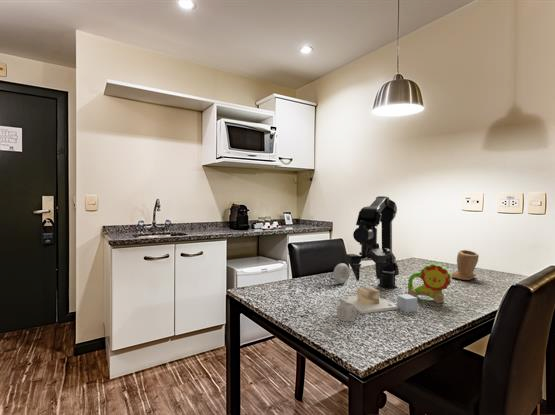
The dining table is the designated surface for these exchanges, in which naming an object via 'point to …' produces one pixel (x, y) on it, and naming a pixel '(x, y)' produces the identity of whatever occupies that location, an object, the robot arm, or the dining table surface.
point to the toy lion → (431, 282)
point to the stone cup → (466, 265)
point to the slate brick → (407, 303)
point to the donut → (338, 270)
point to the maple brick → (368, 295)
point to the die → (346, 312)
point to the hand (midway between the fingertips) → (368, 279)
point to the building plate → (364, 308)
